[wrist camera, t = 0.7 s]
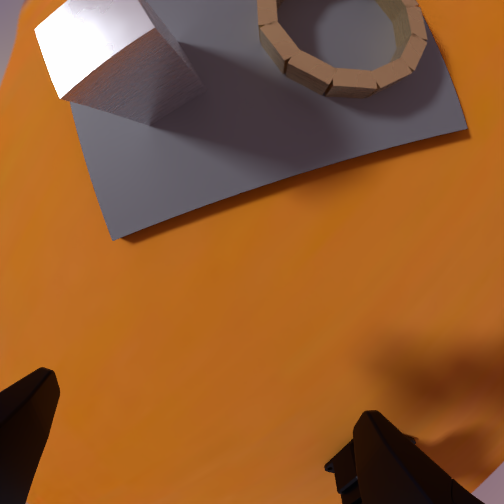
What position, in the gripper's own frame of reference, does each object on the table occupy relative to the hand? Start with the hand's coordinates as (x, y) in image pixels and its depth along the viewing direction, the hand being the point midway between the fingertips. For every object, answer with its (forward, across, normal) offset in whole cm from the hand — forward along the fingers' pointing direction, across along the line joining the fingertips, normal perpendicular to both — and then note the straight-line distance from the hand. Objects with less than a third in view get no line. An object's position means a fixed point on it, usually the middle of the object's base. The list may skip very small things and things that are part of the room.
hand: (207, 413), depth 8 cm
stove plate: (+14, 0, -12) cm, 19 cm away
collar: (+14, -4, -14) cm, 21 cm away
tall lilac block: (+14, +5, -9) cm, 17 cm away
